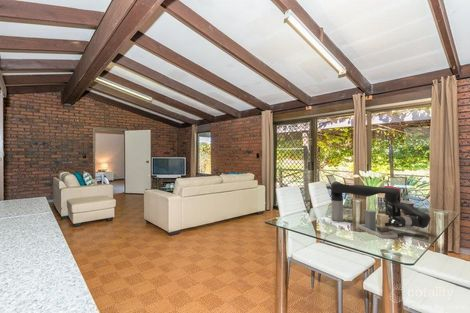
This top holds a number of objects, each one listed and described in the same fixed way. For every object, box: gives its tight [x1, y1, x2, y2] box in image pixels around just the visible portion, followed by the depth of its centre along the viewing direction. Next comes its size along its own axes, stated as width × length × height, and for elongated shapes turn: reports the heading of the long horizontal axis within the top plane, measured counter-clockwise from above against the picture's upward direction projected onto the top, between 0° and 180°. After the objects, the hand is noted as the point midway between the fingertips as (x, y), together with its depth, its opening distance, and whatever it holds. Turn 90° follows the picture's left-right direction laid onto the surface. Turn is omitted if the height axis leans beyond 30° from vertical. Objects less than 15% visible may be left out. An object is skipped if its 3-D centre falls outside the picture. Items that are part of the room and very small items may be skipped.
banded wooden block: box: [376, 213, 390, 235], centre depth 174 cm, size 5×5×14 cm
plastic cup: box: [400, 199, 416, 216], centre depth 232 cm, size 11×11×12 cm
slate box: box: [364, 209, 377, 230], centre depth 187 cm, size 5×5×14 cm
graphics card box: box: [384, 185, 402, 219], centre depth 221 cm, size 17×7×27 cm, turn 168°
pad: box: [351, 231, 381, 242], centre depth 172 cm, size 16×11×1 cm
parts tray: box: [357, 223, 399, 240], centre depth 180 cm, size 26×12×3 cm, turn 7°
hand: (380, 222), depth 174 cm, fingers open, 8 cm apart
